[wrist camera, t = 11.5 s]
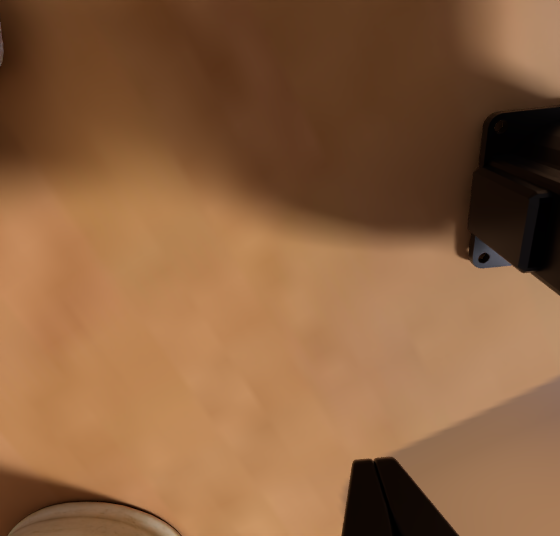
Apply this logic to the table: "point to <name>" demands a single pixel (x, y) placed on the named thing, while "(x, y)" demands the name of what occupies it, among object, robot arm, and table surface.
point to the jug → (91, 521)
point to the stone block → (1, 47)
